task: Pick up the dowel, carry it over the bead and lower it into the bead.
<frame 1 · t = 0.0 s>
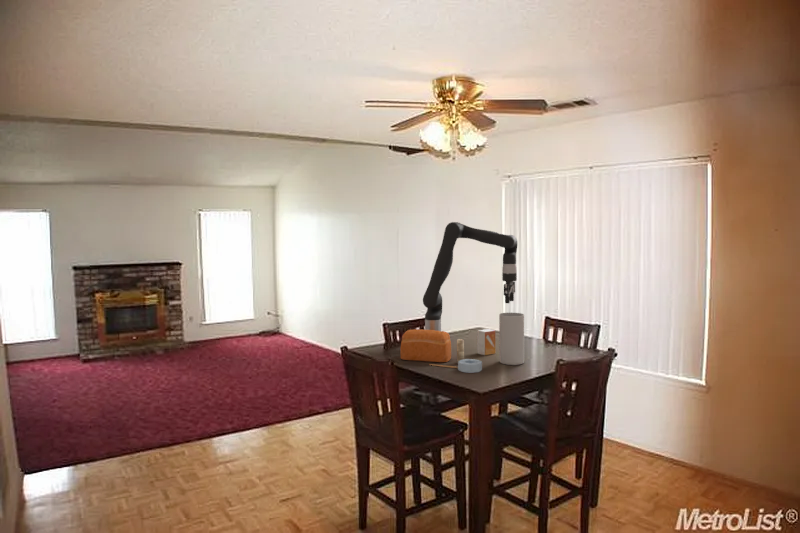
hand: (509, 302, 295), 29 cm above the table, fingers open, 8 cm apart
dowel: (460, 362, 284), on the table
wooden stick: (444, 366, 276), on the table
bread: (426, 359, 293), on the table
cylinder vase: (511, 362, 283), on the table
bead: (469, 369, 270), on the table
small box: (486, 353, 303), on the table
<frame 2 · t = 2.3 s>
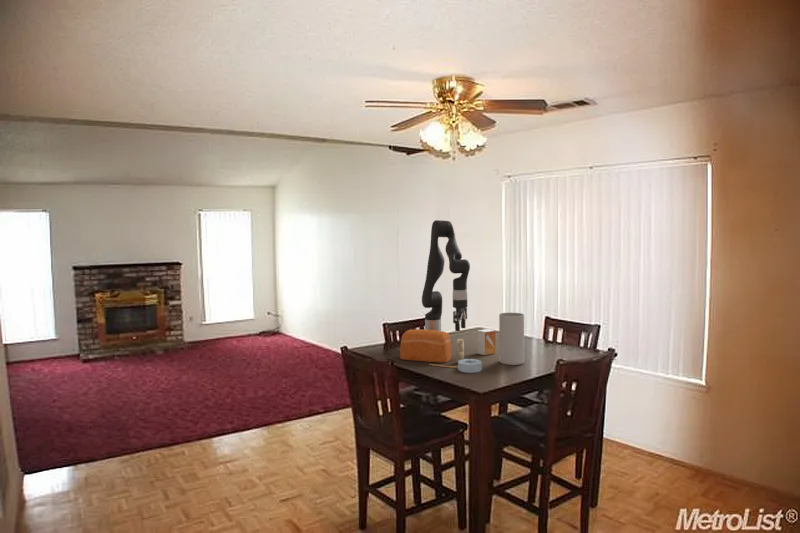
hand: (460, 329, 282), 17 cm above the table, fingers open, 8 cm apart
nothing on the table moved.
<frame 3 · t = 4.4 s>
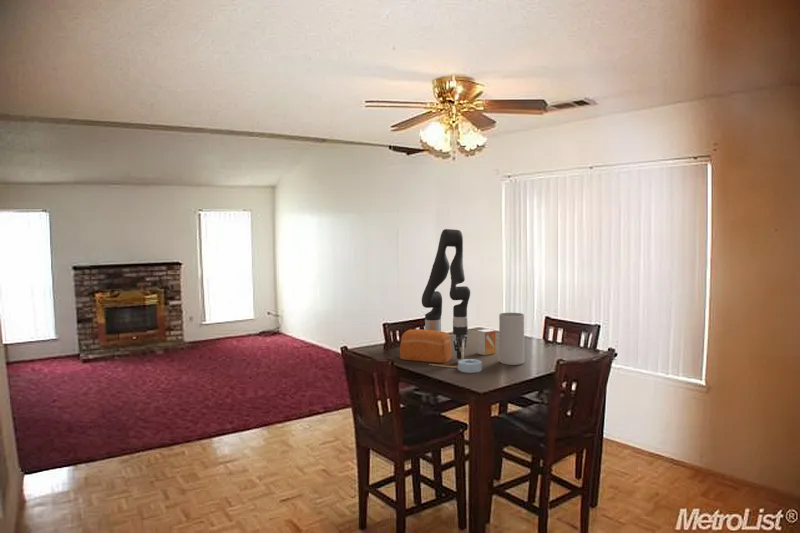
hand: (460, 357, 283), 3 cm above the table, fingers closed on dowel, 3 cm apart
dowel: (460, 362, 284), on the table, touching gripper
everything else where it was.
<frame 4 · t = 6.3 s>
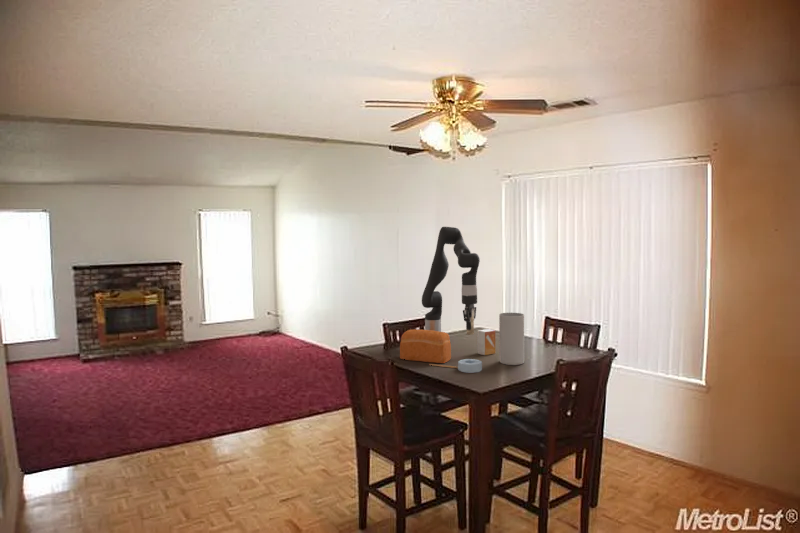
hand: (470, 328, 269), 20 cm above the table, fingers closed on dowel, 3 cm apart
dowel: (470, 334, 269), point 18 cm above the table, touching gripper
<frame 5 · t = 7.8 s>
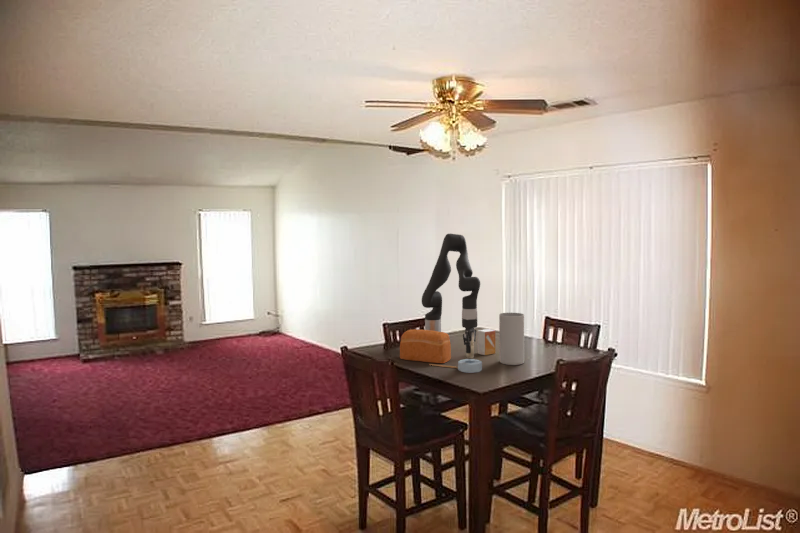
hand: (469, 351, 269), 9 cm above the table, fingers closed on dowel, 3 cm apart
dowel: (470, 357, 269), point 6 cm above the table, touching gripper
when the fingers open (6 cm above the table, at t = 8.7 s): dowel drops 3 cm, resting in bead.
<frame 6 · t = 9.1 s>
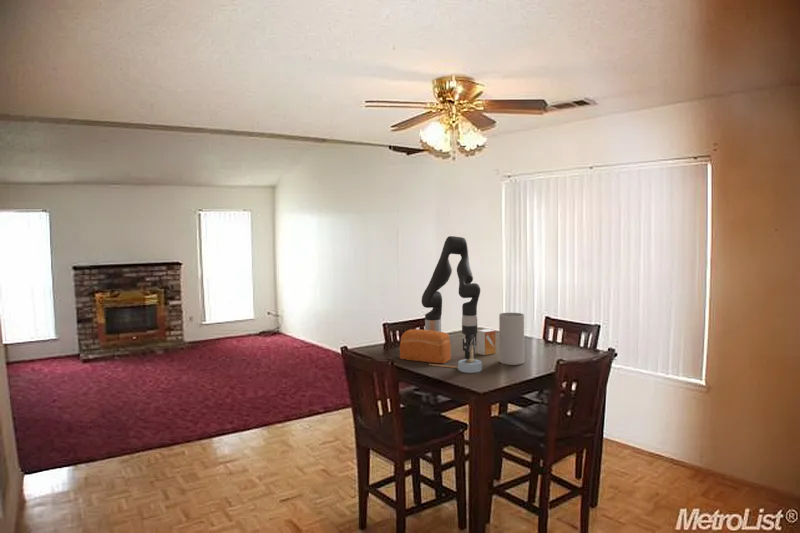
hand: (469, 357, 269), 6 cm above the table, fingers open, 7 cm apart
dowel: (469, 369, 270), resting in bead
everything else where it was.
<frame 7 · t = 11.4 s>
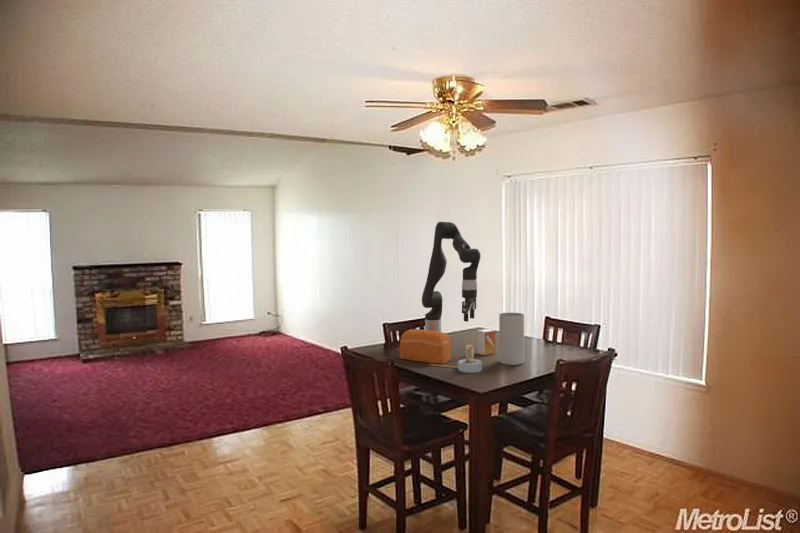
hand: (469, 319, 278), 23 cm above the table, fingers open, 8 cm apart
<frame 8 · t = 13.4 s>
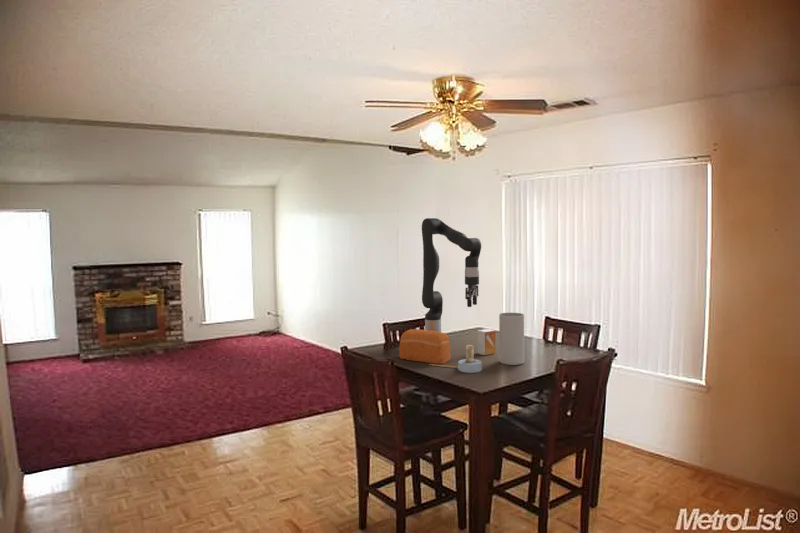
hand: (472, 305, 292), 28 cm above the table, fingers open, 8 cm apart
at the end: dowel 0.1 cm from the bead (horizontally); dowel resting in bead; dowel tilted 0° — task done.
